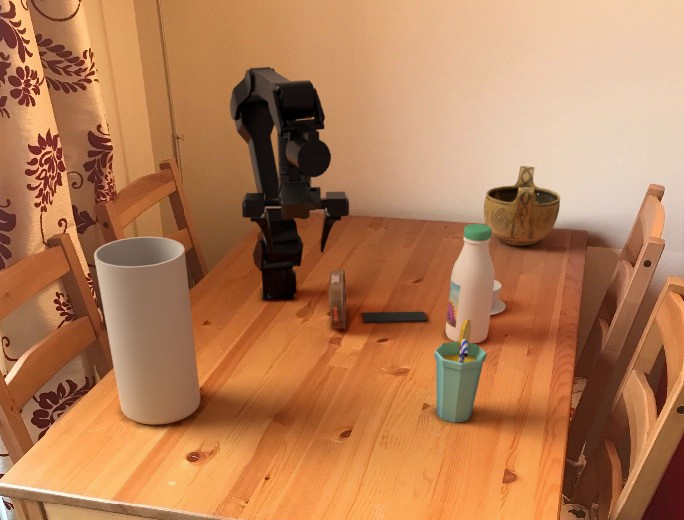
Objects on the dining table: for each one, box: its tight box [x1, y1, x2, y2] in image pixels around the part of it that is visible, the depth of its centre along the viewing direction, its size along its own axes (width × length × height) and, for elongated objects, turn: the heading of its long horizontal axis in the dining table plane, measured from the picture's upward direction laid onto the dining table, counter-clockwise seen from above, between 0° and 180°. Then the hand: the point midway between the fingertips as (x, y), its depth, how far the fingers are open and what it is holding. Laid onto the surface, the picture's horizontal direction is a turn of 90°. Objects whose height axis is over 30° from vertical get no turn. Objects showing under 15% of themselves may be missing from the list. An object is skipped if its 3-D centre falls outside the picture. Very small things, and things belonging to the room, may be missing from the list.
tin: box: [328, 269, 347, 330], centre depth 151 cm, size 15×3×8 cm, turn 177°
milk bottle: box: [445, 223, 495, 344], centre depth 141 cm, size 8×8×20 cm
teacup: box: [490, 279, 507, 316], centre depth 156 cm, size 10×10×5 cm
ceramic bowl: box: [483, 165, 561, 247], centre depth 184 cm, size 22×17×15 cm
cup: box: [433, 320, 488, 424], centre depth 119 cm, size 14×8×15 cm, turn 174°
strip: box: [361, 311, 427, 324], centre depth 153 cm, size 12×4×1 cm, turn 92°
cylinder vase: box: [93, 236, 201, 426], centre depth 119 cm, size 12×12×25 cm
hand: (296, 252), depth 146 cm, fingers open, 9 cm apart
